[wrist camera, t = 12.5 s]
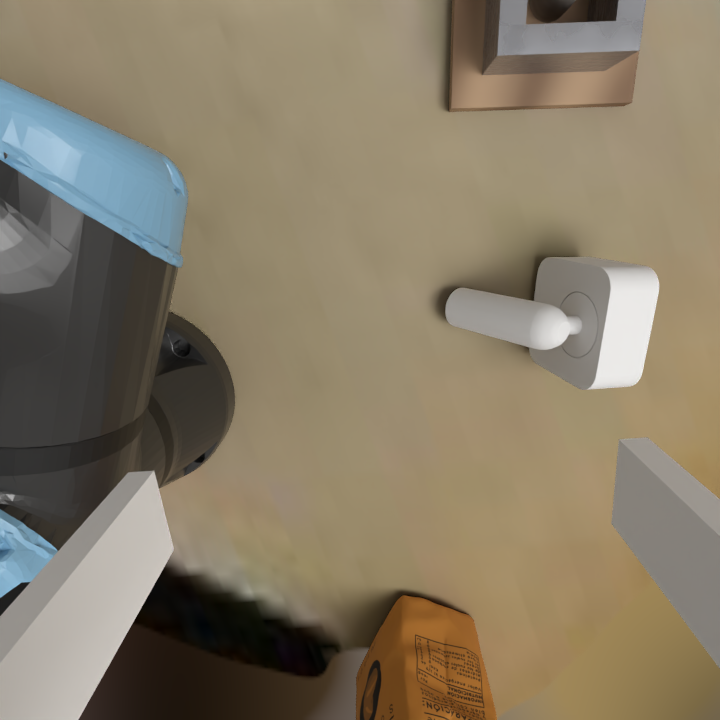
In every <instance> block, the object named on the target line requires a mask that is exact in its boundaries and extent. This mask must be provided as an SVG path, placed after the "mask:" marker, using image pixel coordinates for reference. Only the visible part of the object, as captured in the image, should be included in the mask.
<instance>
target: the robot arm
mask: <svg viewBox="0 0 720 720" xmlns="http://www.w3.org/2000/svg"><path fill="white" fill-rule="evenodd" d="M187 204H188V190H187V186H186V182H185V180H184V178H183V175H182V174H181V172H180V171H179V169H178V168H177V166H176V165H175V164H174V163H173V162H172V161H171V160H170V159H169V158H168V157H166V156H165V155H163V154H162V153H160V152H158V151H156V150H154V149H152V148H150V147H148V146H146V145H144V144H142V143H139V142H137V141H135V140H133V139H131V138H129V137H127V136H124V135H122V134H120V133H118V132H116V131H114V130H112V129H109V128H107V127H105V126H103V125H101V124H98V123H96V122H94V121H92V120H90V119H88V118H85V117H83V116H81V115H79V114H77V113H75V112H72V111H70V110H68V109H66V108H64V107H62V106H59V105H57V104H55V103H53V102H51V101H48V100H46V99H44V98H42V97H39V96H37V95H35V94H33V93H31V92H28V91H26V90H24V89H22V88H20V87H17V86H15V85H13V84H11V83H9V82H6V81H4V80H2V79H0V720H78V719H79V717H80V716H81V714H82V712H83V710H84V708H85V707H86V705H87V703H88V701H89V700H90V698H91V696H92V694H93V693H94V691H95V689H96V687H97V685H98V683H99V682H100V680H101V678H102V677H103V675H104V673H105V671H106V669H107V668H108V666H109V664H110V662H111V661H112V659H113V657H114V655H115V653H116V652H117V650H118V648H119V646H120V644H121V643H122V641H123V639H124V637H125V636H126V634H127V632H128V630H129V629H130V627H131V625H132V623H133V621H134V620H135V618H136V616H137V614H138V613H139V611H140V609H141V607H142V605H143V604H144V602H145V600H146V598H147V597H148V595H149V593H150V591H151V589H152V588H153V586H154V584H155V582H156V581H157V579H158V577H159V575H160V573H161V572H162V570H163V568H164V566H165V565H166V563H167V561H168V559H169V557H170V556H171V554H172V552H173V550H174V548H173V544H172V540H171V536H170V532H169V528H168V524H167V520H166V516H165V512H164V508H163V504H162V500H161V496H160V492H159V488H161V487H163V486H165V485H167V484H169V483H171V482H173V481H175V480H177V479H179V478H181V477H183V476H185V475H187V474H189V473H191V472H192V471H194V470H196V469H197V468H198V467H200V466H201V465H202V464H203V463H204V462H206V461H207V460H208V459H209V458H210V457H211V456H212V454H213V453H214V452H215V450H216V449H217V447H218V446H219V445H220V443H221V442H222V440H223V439H224V437H225V435H226V434H227V432H228V430H229V427H230V425H231V422H232V418H233V414H234V406H235V395H234V387H233V382H232V378H231V375H230V372H229V370H228V367H227V365H226V363H225V361H224V359H223V357H222V356H221V354H220V353H219V351H218V350H217V348H216V347H215V346H214V344H213V343H212V342H211V341H210V340H209V339H208V338H207V337H206V336H205V335H204V334H203V333H202V332H201V331H200V330H199V329H197V328H196V327H195V326H193V325H192V324H191V323H189V322H188V321H186V320H184V319H182V318H181V317H179V316H176V315H174V314H172V313H169V308H170V303H171V298H172V294H173V289H174V285H175V280H176V276H177V271H178V267H182V264H183V257H182V255H181V254H180V250H181V243H182V236H183V230H184V223H185V217H186V211H187ZM612 525H613V526H614V528H615V529H616V530H617V532H618V533H619V534H620V536H621V537H622V538H623V540H624V541H625V542H626V544H627V545H628V546H629V548H630V549H631V550H632V552H633V553H634V554H635V556H636V557H637V558H638V560H639V561H640V562H641V564H642V565H643V566H644V568H645V569H646V570H647V572H648V573H649V574H650V576H651V577H652V578H653V580H654V581H655V582H656V584H657V585H658V586H659V588H660V589H661V590H662V592H663V593H664V594H665V596H666V597H667V598H668V600H669V601H670V603H671V604H672V605H673V607H674V608H675V609H676V611H677V612H678V613H679V615H680V616H681V617H682V619H683V620H684V621H685V623H686V624H687V625H688V627H689V628H690V629H691V631H692V632H693V633H694V635H695V636H696V637H697V639H698V640H699V641H700V643H701V644H702V645H703V647H704V648H705V649H706V650H707V652H708V653H709V655H710V656H711V657H712V659H713V660H714V661H715V663H716V664H717V665H718V667H719V668H720V499H719V498H718V497H716V496H715V495H714V494H713V493H712V492H711V491H709V490H708V489H707V488H706V487H705V486H704V485H702V484H701V483H700V482H699V481H698V480H697V479H695V478H694V477H693V476H692V475H691V474H689V473H688V472H687V471H686V470H685V469H684V468H682V467H681V466H680V465H679V464H678V463H677V462H675V461H674V460H673V459H672V458H671V457H670V456H668V455H667V454H666V453H665V452H664V451H663V450H661V449H660V448H659V447H658V446H657V445H656V444H654V443H653V442H652V441H651V440H650V439H649V438H632V439H619V444H618V456H617V467H616V479H615V490H614V501H613V513H612Z"/></svg>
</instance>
